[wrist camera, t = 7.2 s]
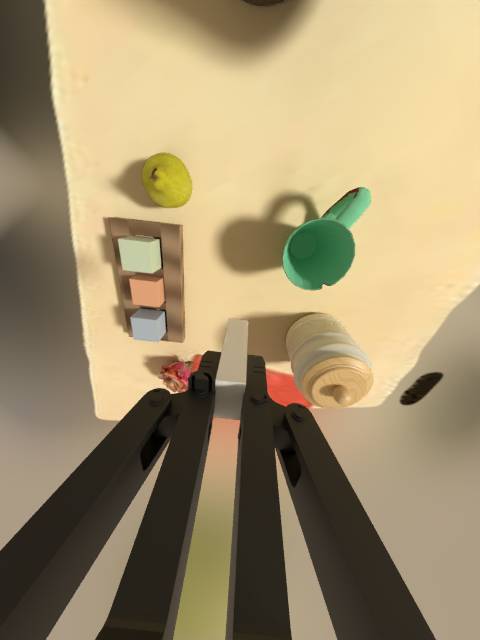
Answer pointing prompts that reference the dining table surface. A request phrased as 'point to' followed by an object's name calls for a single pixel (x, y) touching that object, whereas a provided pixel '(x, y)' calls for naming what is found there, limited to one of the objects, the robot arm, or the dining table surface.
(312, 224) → the mug
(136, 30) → the dining table surface
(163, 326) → the button slate
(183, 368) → the flower
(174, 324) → the button board
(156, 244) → the button sage
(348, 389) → the jar
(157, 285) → the button terracotta
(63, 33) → the dining table surface
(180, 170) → the fruit
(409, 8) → the dining table surface
